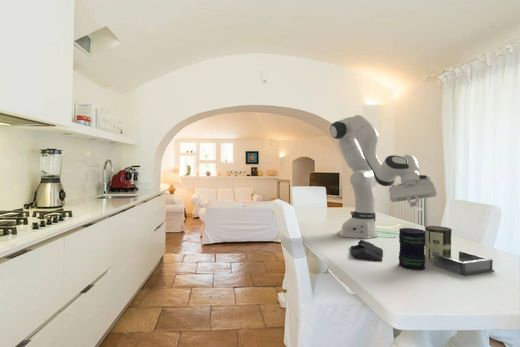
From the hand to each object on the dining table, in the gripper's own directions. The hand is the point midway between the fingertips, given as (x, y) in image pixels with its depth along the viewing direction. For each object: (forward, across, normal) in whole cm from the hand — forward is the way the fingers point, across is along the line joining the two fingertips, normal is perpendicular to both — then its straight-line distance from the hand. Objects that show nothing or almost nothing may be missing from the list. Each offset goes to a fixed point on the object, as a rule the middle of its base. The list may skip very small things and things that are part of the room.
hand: (413, 205), depth 143 cm
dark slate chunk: (+21, -23, +5) cm, 32 cm away
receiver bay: (+26, +14, +10) cm, 31 cm away
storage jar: (+30, -3, 0) cm, 30 cm away
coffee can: (+20, +5, +14) cm, 25 cm away
